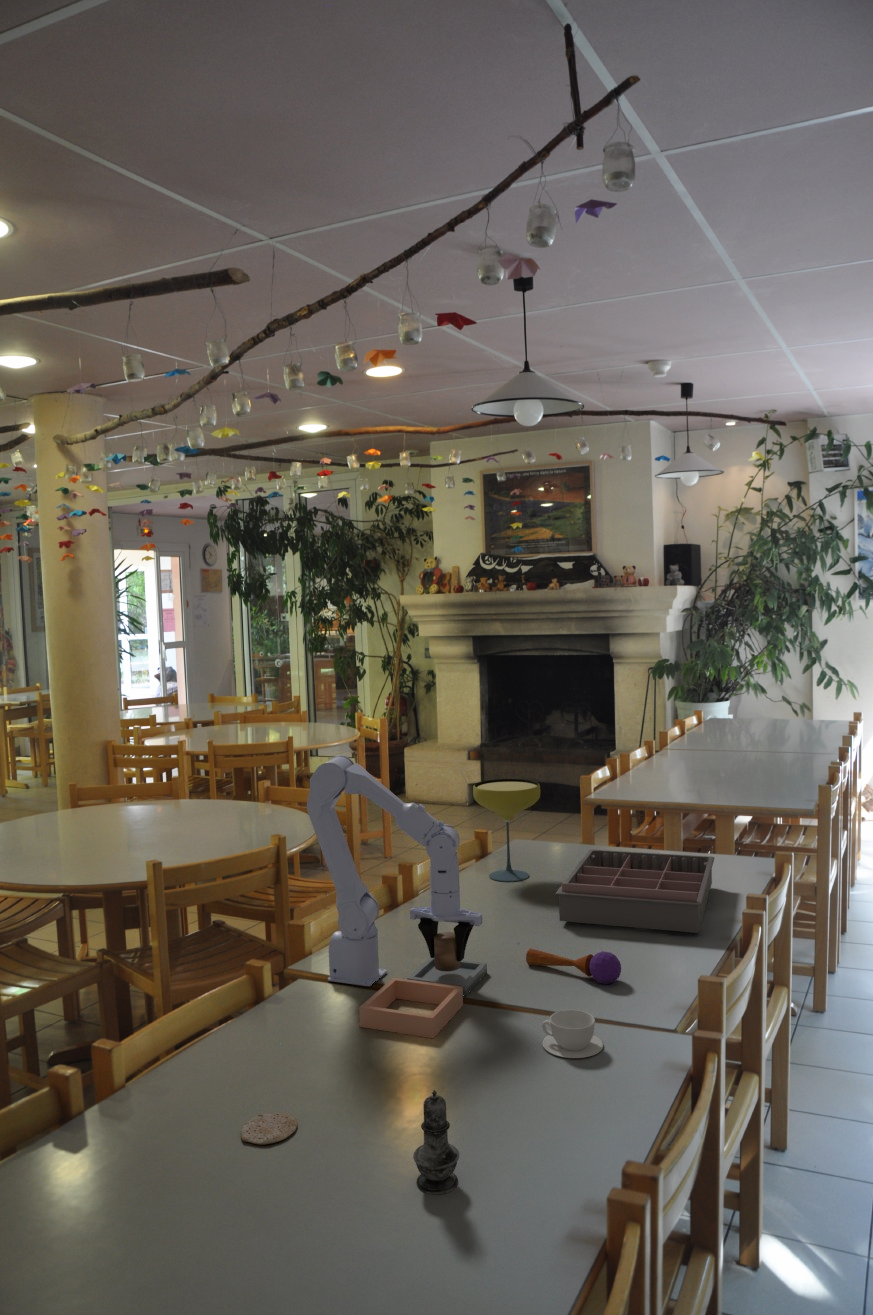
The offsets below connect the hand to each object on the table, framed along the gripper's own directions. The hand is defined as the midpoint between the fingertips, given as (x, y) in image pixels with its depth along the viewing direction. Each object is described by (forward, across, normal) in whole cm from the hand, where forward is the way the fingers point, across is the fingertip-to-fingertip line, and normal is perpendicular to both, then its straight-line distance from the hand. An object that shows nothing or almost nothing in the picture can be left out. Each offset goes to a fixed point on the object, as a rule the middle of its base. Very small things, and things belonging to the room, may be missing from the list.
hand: (447, 958), depth 185 cm
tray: (+4, 0, 0) cm, 4 cm away
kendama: (+5, +22, +11) cm, 25 cm away
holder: (+4, 0, -17) cm, 18 cm away
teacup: (+5, +30, -19) cm, 36 cm away
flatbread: (+5, -4, -58) cm, 58 cm away
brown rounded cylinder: (+2, 0, 0) cm, 2 cm away
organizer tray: (+5, +27, +57) cm, 63 cm away
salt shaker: (+5, +23, -61) cm, 65 cm away
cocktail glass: (+5, -11, +72) cm, 73 cm away
